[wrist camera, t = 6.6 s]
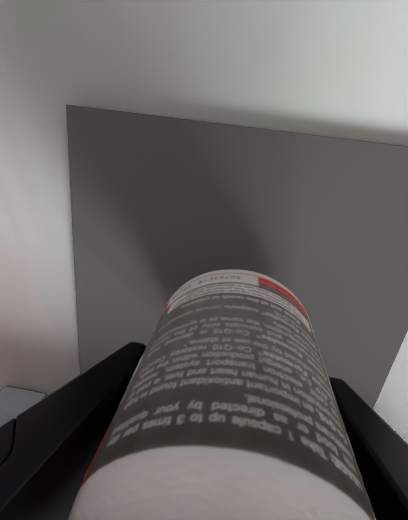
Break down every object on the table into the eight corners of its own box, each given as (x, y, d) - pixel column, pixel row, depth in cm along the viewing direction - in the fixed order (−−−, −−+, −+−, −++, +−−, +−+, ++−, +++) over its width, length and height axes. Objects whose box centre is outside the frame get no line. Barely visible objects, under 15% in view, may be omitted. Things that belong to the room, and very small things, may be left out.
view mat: (474, 155, 9) (484, 156, 9) (350, 443, 14) (353, 452, 13) (73, 105, 10) (66, 104, 9) (85, 393, 14) (81, 400, 14)
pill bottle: (139, 288, 10) (-235, 817, 2) (287, 244, 9) (557, 1024, 1) (193, 400, 11) (79, 953, 4) (326, 375, 10) (563, 1106, 3)
